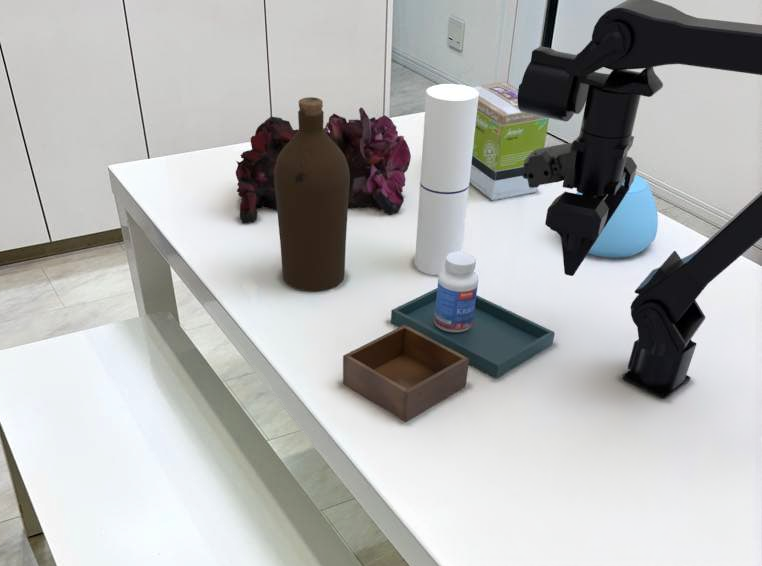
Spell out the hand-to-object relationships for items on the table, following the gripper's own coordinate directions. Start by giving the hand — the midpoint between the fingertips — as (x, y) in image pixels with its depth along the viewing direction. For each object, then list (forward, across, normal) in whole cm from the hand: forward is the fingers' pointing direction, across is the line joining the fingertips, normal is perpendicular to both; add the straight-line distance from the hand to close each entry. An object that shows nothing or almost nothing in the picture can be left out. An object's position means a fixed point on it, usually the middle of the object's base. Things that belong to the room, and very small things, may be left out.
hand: (579, 259), depth 109 cm
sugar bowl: (+13, -36, -3) cm, 39 cm away
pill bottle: (+13, +1, -15) cm, 20 cm away
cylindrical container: (+13, -15, -24) cm, 31 cm away
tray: (+13, +2, -12) cm, 18 cm away
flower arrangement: (+13, -28, -51) cm, 60 cm away
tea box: (+13, -50, -27) cm, 59 cm away
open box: (+13, +18, -16) cm, 27 cm away
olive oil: (+13, -3, -39) cm, 42 cm away
